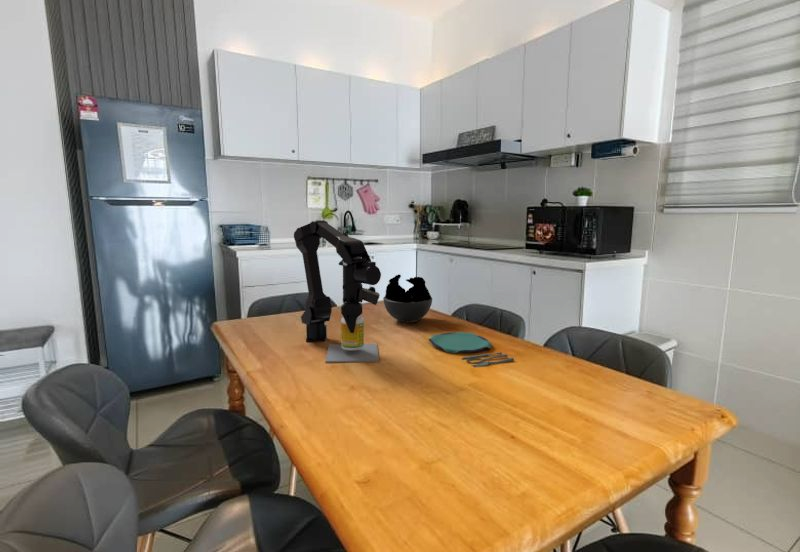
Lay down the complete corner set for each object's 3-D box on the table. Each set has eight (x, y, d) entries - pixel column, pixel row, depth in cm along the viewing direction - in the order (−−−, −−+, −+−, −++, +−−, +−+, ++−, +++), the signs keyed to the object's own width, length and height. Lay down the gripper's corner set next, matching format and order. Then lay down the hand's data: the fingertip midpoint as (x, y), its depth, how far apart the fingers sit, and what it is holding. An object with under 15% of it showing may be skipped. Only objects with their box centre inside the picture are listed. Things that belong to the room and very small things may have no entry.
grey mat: (325, 362, 126) (325, 361, 126) (328, 345, 142) (328, 344, 142) (379, 361, 128) (379, 359, 128) (376, 344, 143) (376, 343, 143)
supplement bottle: (362, 351, 131) (362, 310, 129) (339, 350, 131) (339, 310, 129) (364, 344, 138) (364, 305, 136) (343, 343, 138) (342, 305, 136)
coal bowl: (437, 326, 167) (438, 279, 164) (387, 329, 163) (388, 281, 160) (424, 314, 186) (425, 272, 183) (379, 316, 182) (379, 273, 179)
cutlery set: (469, 335, 157) (470, 329, 157) (520, 363, 129) (520, 356, 129) (420, 341, 150) (421, 334, 149) (463, 372, 122) (463, 364, 122)
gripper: (379, 286, 123) (379, 338, 125) (376, 276, 141) (376, 321, 144) (340, 286, 122) (341, 338, 124) (343, 276, 140) (343, 322, 143)
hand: (352, 329), depth 134 cm, fingers closed on supplement bottle, 7 cm apart
